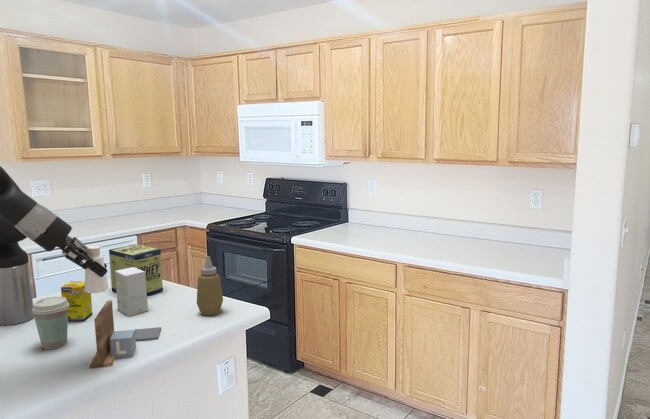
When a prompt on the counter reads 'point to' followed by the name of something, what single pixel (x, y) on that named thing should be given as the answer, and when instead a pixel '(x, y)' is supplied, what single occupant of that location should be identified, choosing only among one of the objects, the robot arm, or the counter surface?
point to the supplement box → (77, 301)
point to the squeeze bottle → (209, 290)
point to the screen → (103, 337)
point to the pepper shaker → (92, 279)
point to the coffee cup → (51, 321)
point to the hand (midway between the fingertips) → (104, 271)
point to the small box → (131, 291)
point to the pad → (147, 334)
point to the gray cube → (123, 343)
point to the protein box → (138, 265)
